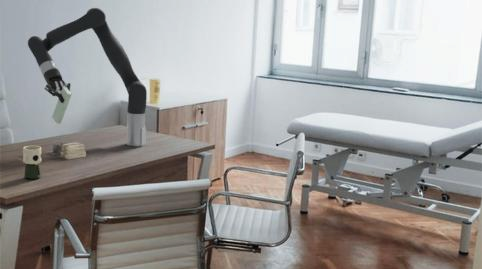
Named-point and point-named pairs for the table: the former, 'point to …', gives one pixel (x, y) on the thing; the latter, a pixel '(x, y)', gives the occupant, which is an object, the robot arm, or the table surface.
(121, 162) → the table surface
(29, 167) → the character mug
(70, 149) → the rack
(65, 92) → the slat
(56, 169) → the table surface
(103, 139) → the table surface
